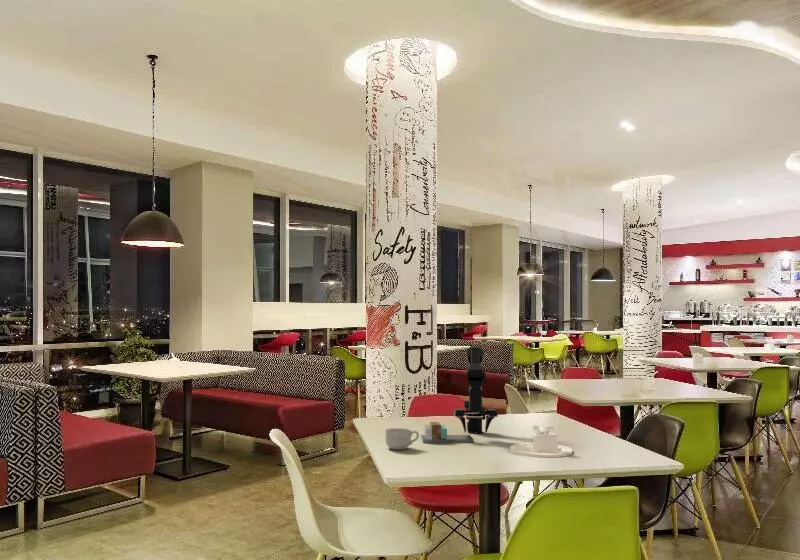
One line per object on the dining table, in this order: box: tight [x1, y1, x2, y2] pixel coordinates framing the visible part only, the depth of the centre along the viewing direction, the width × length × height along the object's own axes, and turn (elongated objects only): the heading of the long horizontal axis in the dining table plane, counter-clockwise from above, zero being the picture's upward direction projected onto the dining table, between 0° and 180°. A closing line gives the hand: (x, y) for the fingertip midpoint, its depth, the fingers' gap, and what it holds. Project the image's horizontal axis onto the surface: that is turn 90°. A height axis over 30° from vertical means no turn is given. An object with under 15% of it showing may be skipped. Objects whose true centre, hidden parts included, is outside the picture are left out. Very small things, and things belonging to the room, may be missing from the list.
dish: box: [509, 424, 573, 458], centre depth 264 cm, size 25×25×11 cm
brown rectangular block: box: [429, 421, 442, 439], centre depth 284 cm, size 4×8×6 cm, turn 3°
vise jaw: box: [441, 424, 448, 439], centre depth 284 cm, size 2×10×4 cm, turn 3°
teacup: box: [385, 427, 420, 451], centre depth 266 cm, size 14×11×8 cm
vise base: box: [420, 424, 475, 444], centre depth 284 cm, size 22×10×6 cm, turn 93°
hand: (475, 432), depth 285 cm, fingers open, 9 cm apart
